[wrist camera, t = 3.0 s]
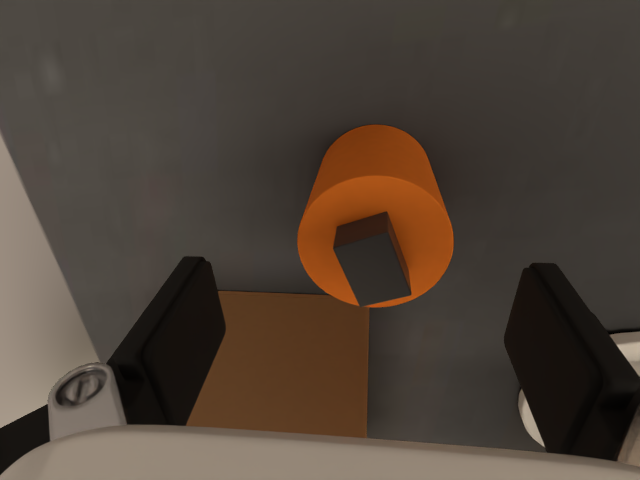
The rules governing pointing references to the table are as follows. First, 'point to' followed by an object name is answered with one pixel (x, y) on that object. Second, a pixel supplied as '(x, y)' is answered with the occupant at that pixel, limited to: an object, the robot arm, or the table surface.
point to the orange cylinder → (375, 220)
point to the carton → (288, 366)
